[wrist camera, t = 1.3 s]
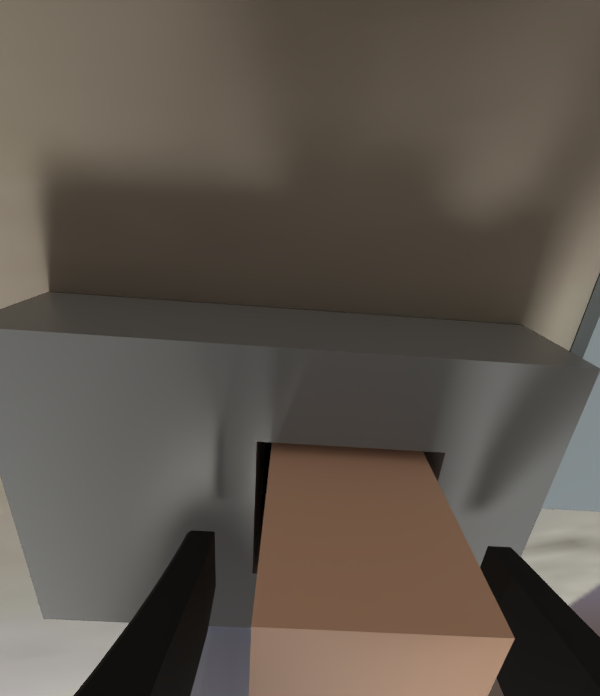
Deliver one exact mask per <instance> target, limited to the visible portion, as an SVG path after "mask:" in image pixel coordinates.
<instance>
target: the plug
mask: <svg viewBox="0 0 600 696" xmlns="http://www.w3.org/2000/svg"><path fill="white" fill-rule="evenodd" d="M514 639H515V638H514V636H513V634H512V632H511V630H510V628H509V626H508V623H507V621H506V619H505V617H504V615H503V613H502V611H501V609H500V607H499V605H498V603H497V601H496V599H495V597H494V595H493V593H492V591H491V589H490V587H489V585H488V583H487V581H486V579H485V577H484V575H483V573H482V571H481V569H480V567H479V565H478V563H477V560H476V558H475V556H474V554H473V552H472V550H471V548H470V546H469V544H468V542H467V540H466V538H465V536H464V534H463V532H462V530H461V528H460V526H459V524H458V522H457V520H456V518H455V516H454V514H453V512H452V510H451V508H450V506H449V504H448V502H447V500H446V498H445V495H444V493H443V491H442V489H441V487H440V485H439V483H438V481H437V479H436V477H435V475H434V473H433V471H432V469H431V467H430V465H429V463H428V461H427V459H426V457H425V455H424V453H423V451H408V450H391V449H375V448H358V447H341V446H324V445H307V444H290V443H273V442H272V447H271V455H270V464H269V473H268V482H267V491H266V500H265V509H264V517H263V526H262V535H261V544H260V553H259V562H258V570H257V579H256V588H255V597H254V606H253V615H252V624H251V645H250V674H249V696H488V694H489V691H490V690H491V688H492V685H493V683H494V681H495V679H496V677H497V675H498V673H499V671H500V669H501V667H502V665H503V662H504V660H505V658H506V656H507V654H508V652H509V650H510V648H511V646H512V644H513V642H514Z"/></svg>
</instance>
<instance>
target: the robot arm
mask: <svg viewBox="0 0 600 696" xmlns="http://www.w3.org/2000/svg"><path fill="white" fill-rule="evenodd" d="M480 569H481V571H482V573H483V575H484V577H485V579H486V581H487V583H488V585H489V587H490V589H491V591H492V593H493V595H494V597H495V599H496V601H497V603H498V605H499V607H500V609H501V611H502V613H503V615H504V617H505V619H506V621H507V623H508V626H509V628H510V630H511V632H512V634H513V636H514V638H515V639H514V642H513V644H512V646H511V648H510V650H509V652H508V654H507V656H506V658H505V660H504V662H503V665H502V667H501V669H500V671H499V673H498V675H497V677H496V678H497V680H498V682H499V684H500V687H501V690H502V692H503V694H504V696H600V637H599V636H598V635H597V634H596V633H595V632H594V631H593V630H592V629H591V628H590V627H589V626H588V625H587V624H586V623H585V622H584V621H583V620H582V619H581V618H580V617H579V616H578V615H577V614H576V613H575V612H574V611H573V610H572V609H571V608H570V607H569V606H568V605H567V604H566V603H565V602H564V601H563V600H562V599H561V598H560V597H559V596H558V595H557V594H556V593H555V592H554V591H553V590H552V589H551V588H550V587H549V586H548V584H547V583H546V582H545V581H544V580H543V579H542V578H541V577H540V576H539V575H538V574H537V573H536V572H535V571H534V570H533V569H532V568H531V567H530V566H529V565H528V564H527V563H526V562H525V561H524V560H523V559H522V558H521V557H520V556H519V555H518V554H517V553H516V552H515V551H514V550H513V549H512V548H511V547H498V546H488V547H487V550H486V553H485V555H484V558H483V561H482V563H481V566H480ZM215 588H216V567H215V532H213V531H194V530H191V531H190V532H188V533H187V534H186V536H185V538H184V540H183V541H182V543H181V545H180V547H179V548H178V550H177V552H176V553H175V555H174V557H173V558H172V560H171V562H170V563H169V565H168V567H167V568H166V570H165V571H164V573H163V574H162V576H161V577H160V579H159V581H158V582H157V584H156V585H155V587H154V588H153V590H152V591H151V592H150V594H149V595H148V597H147V598H146V600H145V601H144V603H143V604H142V606H141V607H140V608H139V610H138V611H137V613H136V614H135V616H134V617H133V619H132V620H131V621H130V623H129V624H128V626H127V627H126V628H125V630H124V631H123V632H122V634H121V635H120V636H119V638H118V639H117V640H116V642H115V643H114V644H113V646H112V647H111V648H110V650H109V651H108V652H107V654H106V655H105V656H104V658H103V659H102V660H101V662H100V663H99V664H98V666H97V667H96V668H95V669H94V671H93V672H92V673H91V675H90V676H89V677H88V678H87V680H86V681H85V682H84V683H83V685H82V686H81V687H80V688H79V690H78V691H77V692H76V693H75V694H74V696H249V674H250V645H251V628H241V627H218V626H209V621H210V616H211V610H212V605H213V599H214V593H215Z"/></svg>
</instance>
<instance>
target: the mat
mask: <svg viewBox="0 0 600 696" xmlns="http://www.w3.org/2000/svg"><path fill="white" fill-rule="evenodd" d="M570 352H572V353H573V354H575V355H577V356H579V357H581V358H582V359H584V360H586V361H588V362H589V363H591V364H593V365H595V366H597V367H598V368H600V276H599V278H598V281H597V284H596V286H595V289H594V291H593V294H592V297H591V299H590V302H589V304H588V307H587V310H586V312H585V315H584V318H583V320H582V323H581V325H580V328H579V331H578V333H577V336H576V338H575V341H574V344H573V346H572V349H571V351H570ZM542 509H561V510H579V511H597V512H600V372H599V375H598V377H597V379H596V382H595V384H594V386H593V389H592V391H591V393H590V396H589V398H588V400H587V403H586V405H585V407H584V410H583V412H582V414H581V417H580V419H579V421H578V424H577V426H576V428H575V431H574V433H573V435H572V438H571V440H570V442H569V445H568V447H567V450H566V452H565V454H564V457H563V459H562V461H561V464H560V466H559V468H558V471H557V473H556V475H555V478H554V480H553V482H552V485H551V487H550V489H549V492H548V494H547V496H546V499H545V501H544V503H543V506H542Z"/></svg>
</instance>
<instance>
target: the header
mask: <svg viewBox="0 0 600 696" xmlns="http://www.w3.org/2000/svg"><path fill="white" fill-rule="evenodd" d="M599 372H600V368H598V367H597V366H595V365H593V364H591V363H589V362H588V361H586V360H584V359H582V358H581V357H579V356H577V355H575V354H573V353H572V352H570V351H568V350H566V349H564V348H563V347H561V346H559V345H557V344H555V343H554V342H552V341H550V340H548V339H546V338H545V337H543V336H541V335H539V334H538V333H536V332H534V331H532V330H530V329H529V328H527V327H525V326H523V325H515V324H501V323H487V322H472V321H458V320H444V319H429V318H415V317H401V316H386V315H372V314H358V313H343V312H329V311H315V310H300V309H286V308H272V307H257V306H243V305H229V304H215V303H200V302H186V301H172V300H157V299H143V298H129V297H114V296H100V295H86V294H71V293H57V292H47V293H44V294H41V295H38V296H36V297H33V298H30V299H27V300H25V301H22V302H19V303H16V304H14V305H11V306H8V307H5V308H3V309H0V476H1V480H2V483H3V486H4V490H5V493H6V496H7V500H8V503H9V506H10V509H11V513H12V516H13V519H14V523H15V526H16V529H17V533H18V536H19V539H20V543H21V546H22V549H23V552H24V556H25V559H26V562H27V566H28V569H29V572H30V576H31V579H32V582H33V586H34V589H35V592H36V595H37V599H38V602H39V605H40V609H41V612H42V615H43V619H61V620H83V621H106V622H128V623H130V621H131V620H132V619H133V617H134V616H135V614H136V613H137V611H138V610H139V608H140V607H141V606H142V604H143V603H144V601H145V600H146V598H147V597H148V595H149V594H150V592H151V591H152V590H153V588H154V587H155V585H156V584H157V582H158V581H159V579H160V577H161V576H162V574H163V573H164V571H165V570H166V568H167V567H168V565H169V563H170V562H171V560H172V558H173V557H174V555H175V553H176V552H177V550H178V548H179V547H180V545H181V543H182V541H183V540H184V538H185V536H186V534H187V533H188V532H190V531H191V530H194V531H213V532H215V567H216V588H215V593H214V599H213V605H212V610H211V616H210V621H209V626H218V627H241V628H251V624H252V615H253V606H254V597H255V588H256V579H257V570H258V562H259V553H260V544H261V535H262V526H263V517H264V509H265V500H266V494H262V491H263V468H264V445H265V442H273V443H290V444H307V445H324V446H341V447H358V448H375V449H391V450H408V451H423V453H424V455H425V457H426V459H427V461H428V463H429V465H430V467H431V469H432V471H433V473H434V475H435V477H436V479H437V481H438V483H439V485H440V487H441V489H442V491H443V493H444V495H445V498H446V500H447V502H448V504H449V506H450V508H451V510H452V512H453V514H454V516H455V518H456V520H457V522H458V524H459V526H460V528H461V530H462V532H463V534H464V536H465V538H466V540H467V542H468V544H469V546H470V548H471V550H472V552H473V554H474V556H475V558H476V560H477V563H478V565H479V567H480V566H481V563H482V561H483V558H484V555H485V553H486V550H487V547H488V546H498V547H511V548H512V549H513V550H514V551H515V552H516V553H517V554H518V555H519V556H520V557H521V555H522V552H523V550H524V548H525V545H526V543H527V541H528V538H529V536H530V534H531V531H532V529H533V527H534V524H535V522H536V520H537V517H538V515H539V513H540V510H541V508H542V506H543V503H544V501H545V499H546V496H547V494H548V492H549V489H550V487H551V485H552V482H553V480H554V478H555V475H556V473H557V471H558V468H559V466H560V464H561V461H562V459H563V457H564V454H565V452H566V450H567V447H568V445H569V442H570V440H571V438H572V435H573V433H574V431H575V428H576V426H577V424H578V421H579V419H580V417H581V414H582V412H583V410H584V407H585V405H586V403H587V400H588V398H589V396H590V393H591V391H592V389H593V386H594V384H595V382H596V379H597V377H598V375H599Z"/></svg>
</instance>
